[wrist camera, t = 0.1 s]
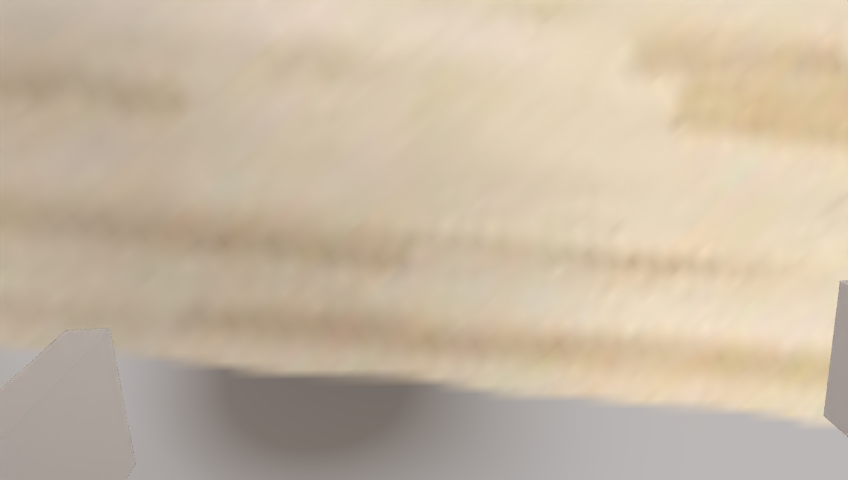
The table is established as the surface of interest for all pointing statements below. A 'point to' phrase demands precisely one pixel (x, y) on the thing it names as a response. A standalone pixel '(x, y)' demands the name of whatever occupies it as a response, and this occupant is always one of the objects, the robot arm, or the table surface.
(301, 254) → the table surface
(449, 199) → the table surface
